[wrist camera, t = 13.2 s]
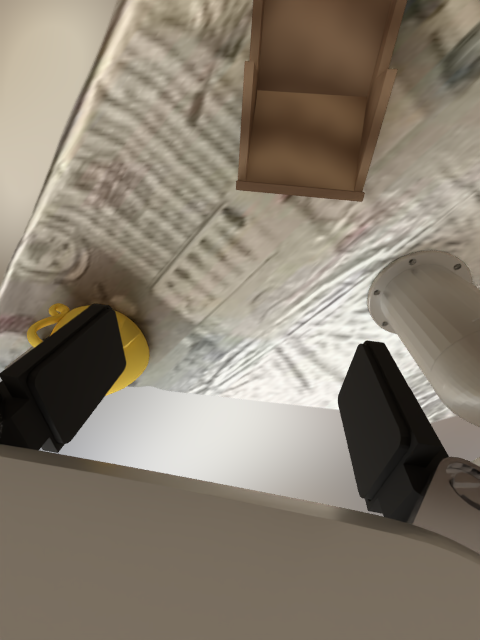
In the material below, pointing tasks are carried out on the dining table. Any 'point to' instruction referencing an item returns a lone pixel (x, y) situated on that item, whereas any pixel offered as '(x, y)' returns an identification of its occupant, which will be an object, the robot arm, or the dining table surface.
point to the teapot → (130, 336)
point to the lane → (316, 95)
